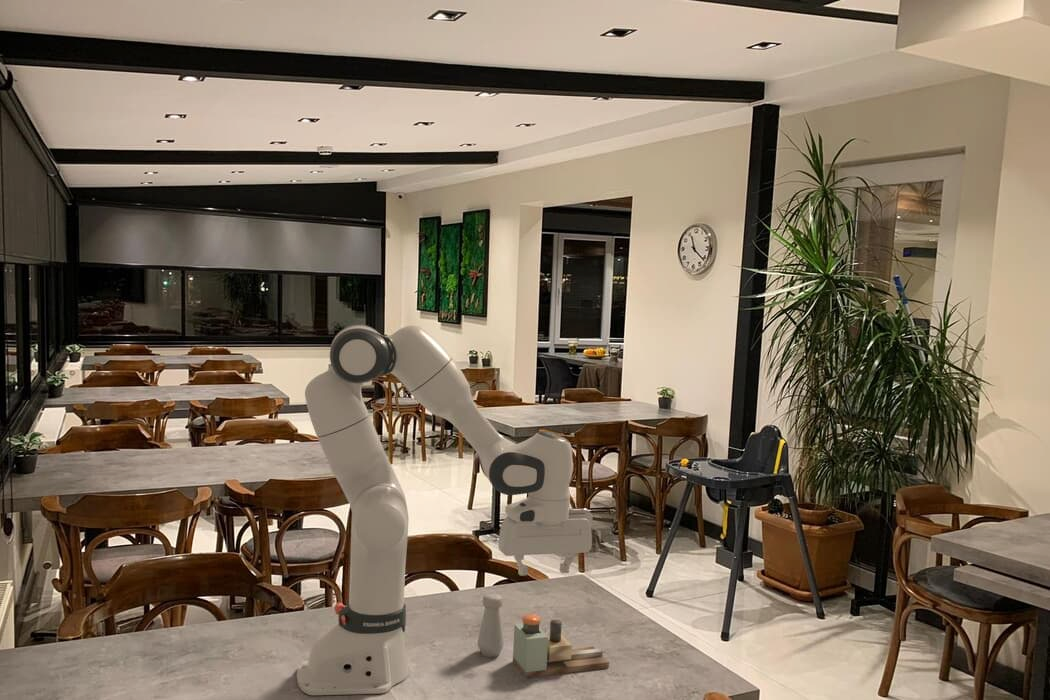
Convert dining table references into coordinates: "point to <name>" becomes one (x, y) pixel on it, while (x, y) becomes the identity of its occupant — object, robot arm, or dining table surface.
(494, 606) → the salt shaker
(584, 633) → the dining table surface
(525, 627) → the button
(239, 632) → the dining table surface
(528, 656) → the end cabinet
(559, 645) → the carriage
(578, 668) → the rail bed
